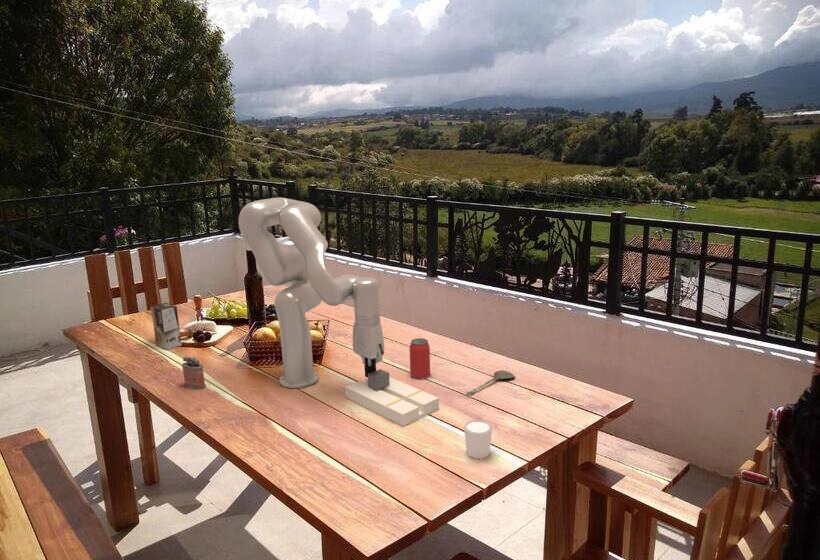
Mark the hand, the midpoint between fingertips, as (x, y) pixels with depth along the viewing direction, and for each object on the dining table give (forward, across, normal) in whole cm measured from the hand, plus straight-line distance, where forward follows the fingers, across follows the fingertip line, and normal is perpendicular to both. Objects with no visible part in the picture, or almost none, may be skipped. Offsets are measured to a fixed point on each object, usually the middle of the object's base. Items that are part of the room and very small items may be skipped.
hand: (370, 376), depth 172 cm
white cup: (+6, +45, -3) cm, 46 cm away
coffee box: (+5, -92, -27) cm, 96 cm away
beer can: (+6, +1, +20) cm, 21 cm away
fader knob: (+4, +4, 0) cm, 6 cm away
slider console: (+6, +9, 0) cm, 11 cm away
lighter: (+6, -46, -36) cm, 59 cm away
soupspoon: (+7, +22, +30) cm, 38 cm away
